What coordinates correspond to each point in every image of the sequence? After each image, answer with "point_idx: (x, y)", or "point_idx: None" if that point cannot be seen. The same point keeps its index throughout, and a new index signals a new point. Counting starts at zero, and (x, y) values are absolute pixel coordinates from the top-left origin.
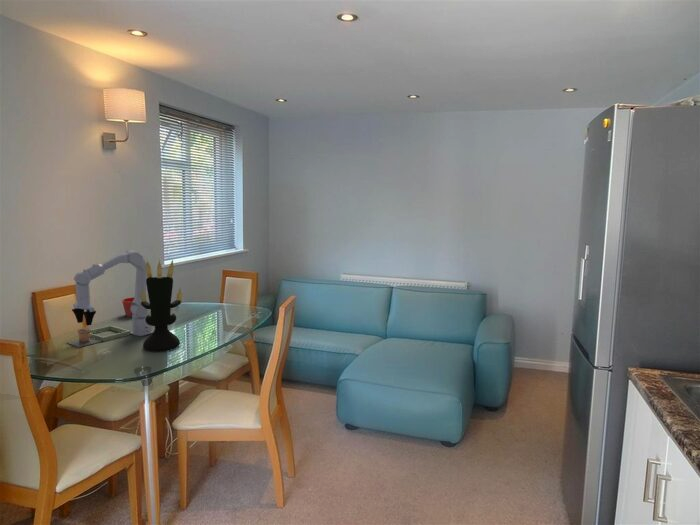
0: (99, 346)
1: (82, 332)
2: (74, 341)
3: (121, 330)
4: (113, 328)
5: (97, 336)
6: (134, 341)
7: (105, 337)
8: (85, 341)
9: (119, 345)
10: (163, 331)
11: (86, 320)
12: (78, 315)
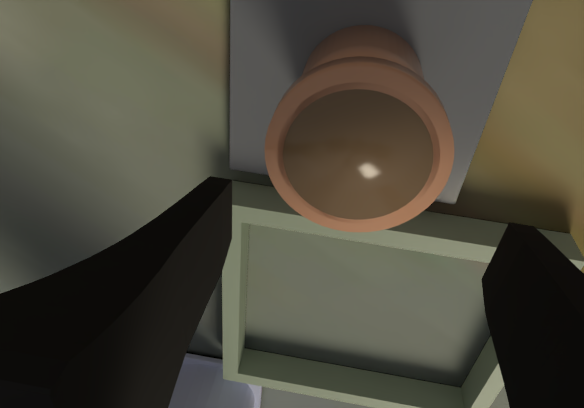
0: (115, 63)
1: (303, 80)
2: (478, 26)
3: (317, 378)
4: (422, 395)
5: None
6: (57, 268)
7: None
8: (307, 61)
9: (27, 164)
10: None
11: (152, 222)
12: (561, 359)
